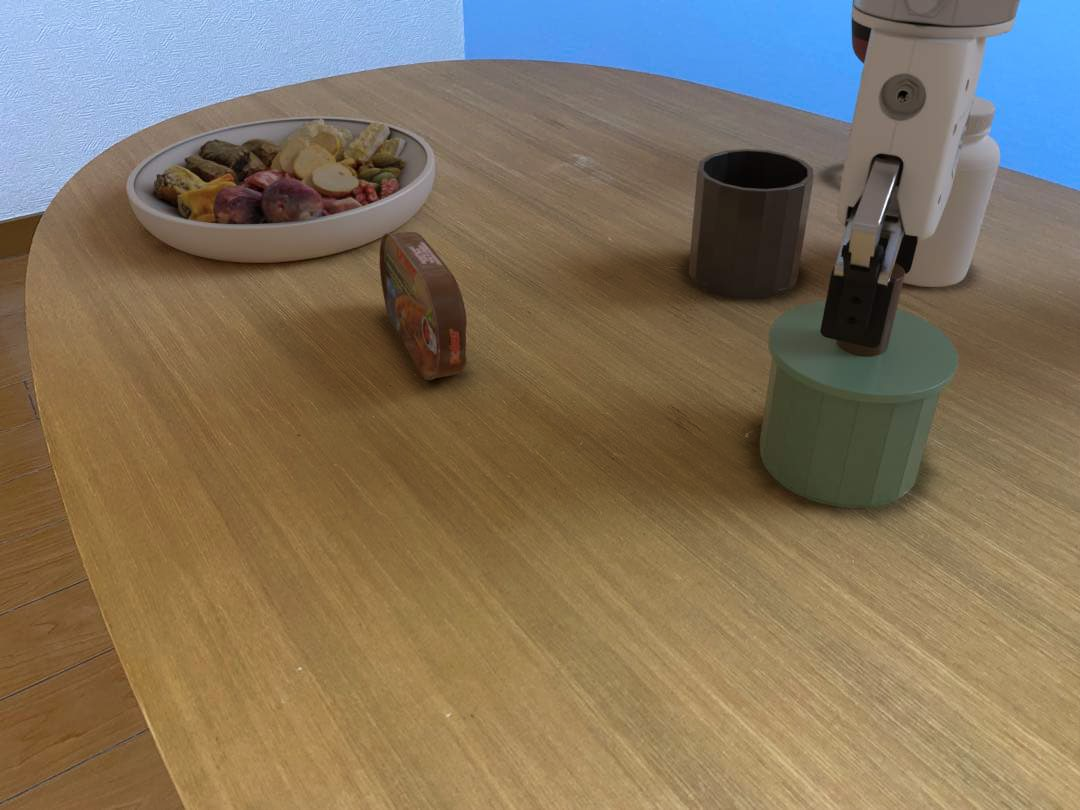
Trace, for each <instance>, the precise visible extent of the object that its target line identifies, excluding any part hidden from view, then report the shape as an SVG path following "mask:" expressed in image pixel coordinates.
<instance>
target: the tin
mask: <svg viewBox="0 0 1080 810" xmlns="http://www.w3.org/2000/svg"><path fill="white" fill-rule="evenodd" d="M379 275H380V282H381V288H382V294H383V300H384V306H385V310H386V313H387V317H388V320H389V322H390V324H391V326H393V327H394V329H396V331H397V333H398V335H399V337H400V339H401V341H402V343H403V344H404V346H405V348H406V349H407V351H408V353H409V355H410V357H411V359H412V361H413V362H414V364H415V365H416V367H417V369H418V370H419V372H420V374H421V376H422V377H423V379H425V380H427V381H433V380H434V379H439V378H444V377H450V376H454V375H457V374H459V373H461V372H463V371H464V369H465V368H466V365H467V323H468V322H467V312H466V308H465V307H466V306H465V302H464V299H463V294H462V291H461V289H460V286H459V284H458V282H457V280H456V277H455V276H454V274H453V273H452V271H451V270H450V269H449V268H448V267H447V265H446V263H445V262H444V261H443V260H442V259H441V258H440V256H439V254H438V253H437V252H436V251H435V250H434V249H433V247H432V246H431V245H430V244H429V242H427V240H426V239H425V238H424V237H423V235H421V234H420V233H419V232H415V231H409V232H407V231H405V232H398V233H386V234H385V235H384V236H383V237H381V240H380V246H379Z"/></svg>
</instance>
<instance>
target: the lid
mask: <svg viewBox="0 0 1080 810" xmlns="http://www.w3.org/2000/svg"><path fill="white" fill-rule="evenodd" d="M904 276H905V271H904V269H903V268H902V267H901V266H900V265H898V264H896V263H895V264H894V267H893V271H892V274H891V279H896V281H895V286H894V290H893V294H892V298H891V302H890V307H889V311H888V315H887V319H886V323H885V327H884V332H883V336H882V340H881V342H880V344H879V346H878V347H876V348H869V347H865V346H861V345H856V344H852V343H848V342H843V341H839V340H834V339H830V338H826V337H824V336H822V334H821V332H820V329H821V324H822V319H823V314H824V309H825V303H826V300H821V301H814V302H809V303H805V304H801V305H799V306H795V307H793V308H791V309H789V310H786V311H785V312H783V313H782V314H780V315H779V316H778V317H777V318H776V319H775V320H774V322H773V323H772V325H771V327H770V329H769V334H768V340H767V345H768V351H769V354H770V356H771V359H772V358H773V359H774V361H775V362H776V364H777V365H778V366H779V367H780V368H781V369H782V370H783V371H784V372H785V373H787V374H788V375H789V376H791V377H792V378H794V379H795V380H797V381H799V382H800V383H802V384H804V385H806V386H808V387H810V388H813V389H815V390H817V391H820V392H823V393H825V394H828V395H832V396H836V397H839V398H843V399H848V400H853V401H860V402H868V403H901V402H909V401H915V400H919V399H923V398H926V397H929V396H931V395H934V394H936V393H938V392H939V391H941V392H942V391H943V390H944V389H946V388H947V386H949V385H950V383H951V382H952V381H953V380H954V378H955V375H956V374H957V370H958V367H959V355H958V350H957V348H956V347H955V345H954V343H953V342H952V340H951V339H950V338H949V337H948V336H947V334H945V333H944V332H943V331H942V330H940V329H939V328H938V327H937V326H935V325H934V324H932V323H930V321H927V320H925V319H924V318H921V317H919V316H918V315H915V314H913V313H910V312H907V311H905V310H902V309H899V308H898V306H899V301H900V297H901V293H902V288H903V285H904V283H903V280H904Z"/></svg>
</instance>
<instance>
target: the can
mask: <svg viewBox="0 0 1080 810" xmlns="http://www.w3.org/2000/svg"><path fill="white" fill-rule="evenodd" d="M941 393H942V390H941V391H939V392H938V393H936V394H934V395H931V396H929V397H926V398H923V399H919V400H915V401H909V402H901V403H868V402H860V401H853V400H848V399H843V398H839V397H836V396H832V395H828V394H825V393H823V392H820V391H817V390H815V389H813V388H810V387H808V386H806V385H804V384H802V383H800V382H799V381H797V380H795V379H794V378H792V377H791V376H789V375H788V374H787V373H785V372H784V371H783V370H782V369H781V368H780V367H779V366H778V365H777V364H776V362H775V361H774V359H773V358H772V357H771V363H770V370H769V377H768V384H767V391H766V395H765V396H766V397H765V402H764V403H765V404H764V410H763V416H762V423H761V430H760V436H759V437H760V438H759V454H760V458H761V462H762V464H763V466H764V468H765V469H766V471H768V473H769V475H771V476H772V478H773V479H774V480H775V481H777V482H778V483H779V484H780V485H782V486H784V488H786V489H787V490H788V491H791V492H792V493H795V494H796V495H798V496H800V497H802V498H804V499H807V500H810V501H812V502H816V503H818V504H823V505H826V506H832V507H839V508H845V509H867V508H875V507H881V506H885V505H887V504H888V505H889V504H891V503H893V502H895V501H898V500H900V499H901V498H903V497H904V496H906V495H907V494H908V493H909V492H911V489H912V488H913V487H914V486H915V484H916V481H917V478H918V474H919V470H920V468H921V464H922V460H923V457H924V454H925V449H926V446H927V443H928V439H929V435H930V431H931V428H932V426H933V425H932V424H933V421H934V417H935V414H936V411H937V408H938V407H937V406H938V403H939V400H940V396H941Z"/></svg>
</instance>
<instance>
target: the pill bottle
mask: <svg viewBox="0 0 1080 810" xmlns="http://www.w3.org/2000/svg"><path fill="white" fill-rule="evenodd" d="M995 112H996V107H995V105H994V103H992V101H990V100H987V99H985V98H983V97H980V96H976V95H975V96H974V100H973V104H972V109H971V113H970V116H969V120H968V124H967V128H966V132H965V136H964V140H963V144H962V147H961V151H960V155H959V159H958V163H957V168H956V172H955V176H954V181H953V185H952V189H951V192H950V195H949V197H948V200H947V203H946V205H945V208H944V211H943V213H942V216H941V218H940V221H939V223H938V225H937V228H936V230H935V232H934V234H933V235H932V236H931V237H929V238H928V239H926V240H924V241H918V243H917V247H916V251H915V255H914V259H913V263H912V267H911V269H910V271H909V272H908V273H907V274H905V276H904V280H903V284H907V285H912V286H916V287H924V288H927V287H928V288H942V287H943V288H944V287H949V286H953V285H956V284H958V283H960V282H962V281H963V280H964V279H965V277H966V276H967V275H968V271H969V269H970V266H971V262H972V259H973V256H974V252H975V248H976V246H977V241H978V238H979V235H980V231H981V228H982V224H983V220H984V218H985V215H986V210H987V207H988V204H989V201H990V197H991V194H992V190H993V186H994V183H995V179H996V176H997V173H998V169H999V167H1000V162H1001V150H1000V147H999V144H998V143H997V142H996V140H995V139H993V137H992V136H990V135H989V134H990V133H991V130H992V127H991V126H992V123H993V120H994V117H995V114H996V113H995Z"/></svg>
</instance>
